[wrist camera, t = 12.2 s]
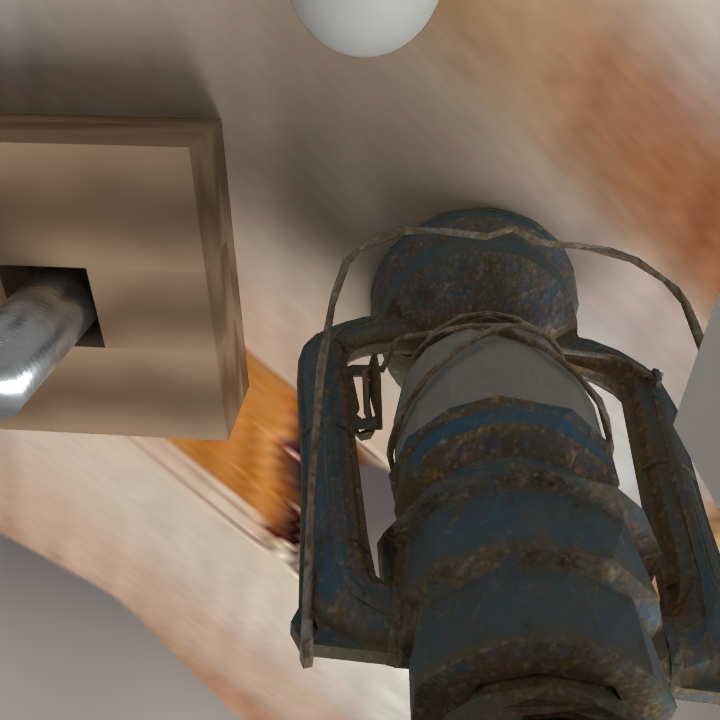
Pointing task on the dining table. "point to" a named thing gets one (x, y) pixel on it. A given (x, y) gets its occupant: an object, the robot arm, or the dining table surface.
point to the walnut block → (129, 270)
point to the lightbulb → (364, 23)
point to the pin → (41, 330)
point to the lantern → (502, 492)
